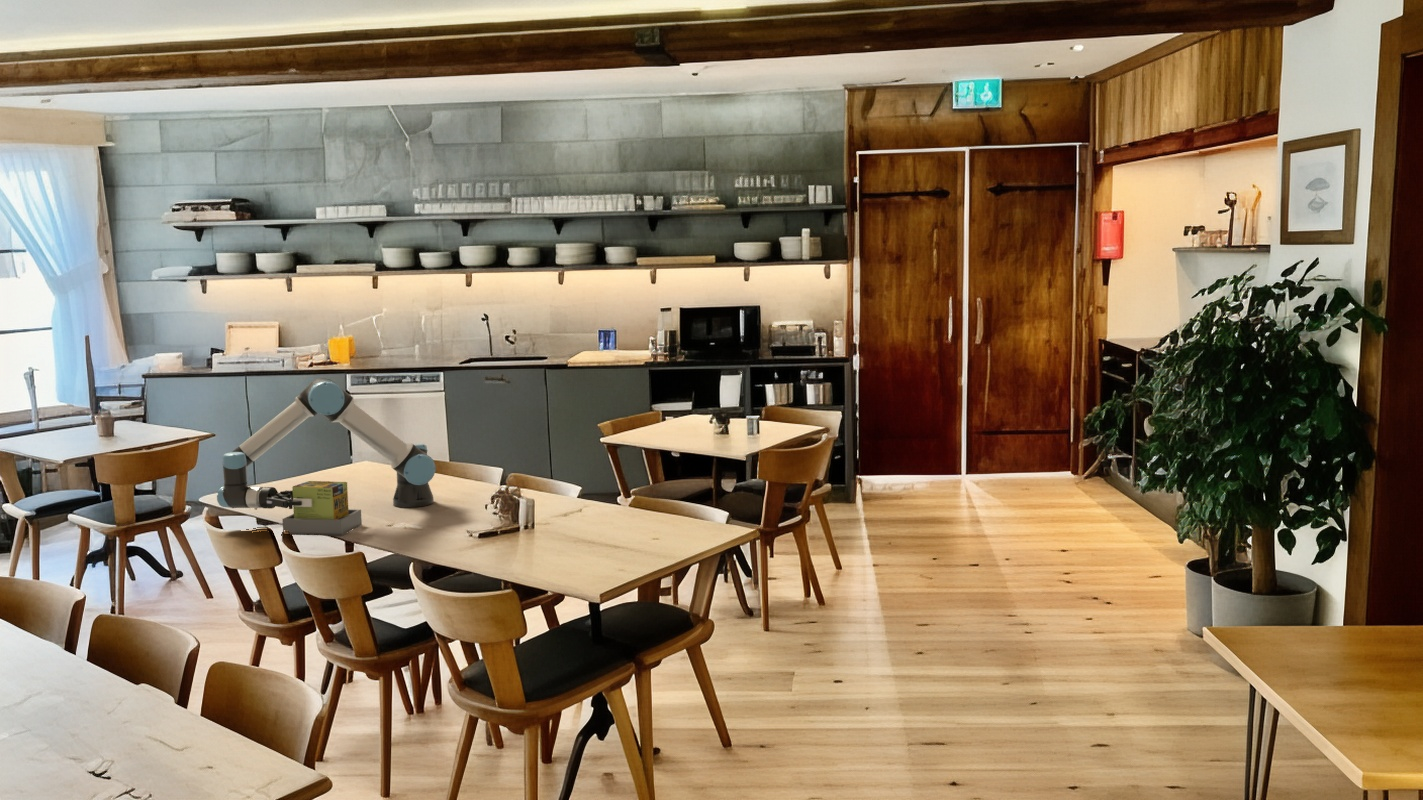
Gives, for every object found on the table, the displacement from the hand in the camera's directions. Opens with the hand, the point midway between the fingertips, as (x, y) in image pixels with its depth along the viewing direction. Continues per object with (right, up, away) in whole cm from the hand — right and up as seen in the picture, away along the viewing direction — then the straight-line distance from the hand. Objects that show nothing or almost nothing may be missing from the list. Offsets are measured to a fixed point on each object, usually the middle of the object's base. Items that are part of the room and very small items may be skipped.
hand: (321, 498), depth 375 cm
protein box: (0, -10, +1) cm, 11 cm away
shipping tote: (0, -11, +1) cm, 11 cm away
